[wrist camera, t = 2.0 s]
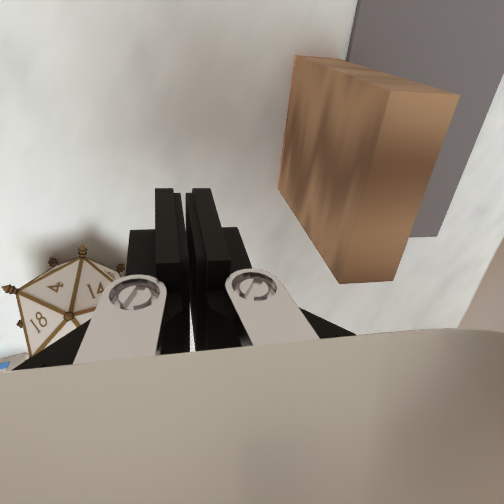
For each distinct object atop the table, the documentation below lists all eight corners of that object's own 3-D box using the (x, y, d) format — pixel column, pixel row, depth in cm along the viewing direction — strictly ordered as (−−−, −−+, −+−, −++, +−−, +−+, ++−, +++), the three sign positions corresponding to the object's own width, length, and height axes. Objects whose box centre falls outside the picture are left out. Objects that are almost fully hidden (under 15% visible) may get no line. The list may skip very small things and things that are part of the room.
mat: (434, 234, 34) (436, 236, 34) (310, 237, 32) (312, 240, 31) (529, -3, 25) (534, -3, 24) (363, -26, 22) (366, -27, 22)
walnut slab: (314, 188, 29) (393, 280, 19) (277, 187, 28) (339, 284, 19) (339, 58, 24) (460, 95, 14) (295, 55, 24) (390, 90, 14)
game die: (85, 232, 31) (65, 209, 22) (163, 297, 33) (176, 303, 23) (0, 316, 29) (-65, 333, 19) (89, 382, 30) (69, 428, 21)
